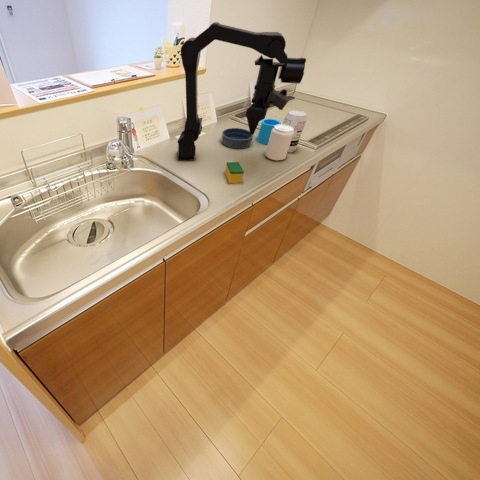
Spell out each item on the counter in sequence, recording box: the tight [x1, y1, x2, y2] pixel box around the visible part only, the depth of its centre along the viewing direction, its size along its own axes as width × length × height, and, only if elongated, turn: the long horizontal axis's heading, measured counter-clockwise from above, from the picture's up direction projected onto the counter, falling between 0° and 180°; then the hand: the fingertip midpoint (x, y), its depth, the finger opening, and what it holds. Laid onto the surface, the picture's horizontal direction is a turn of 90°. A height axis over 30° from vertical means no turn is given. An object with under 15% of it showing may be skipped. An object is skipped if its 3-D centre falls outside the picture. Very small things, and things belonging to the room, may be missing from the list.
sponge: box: [224, 161, 245, 184], centre depth 99 cm, size 7×4×4 cm, turn 2°
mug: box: [256, 118, 282, 145], centre depth 122 cm, size 12×8×8 cm
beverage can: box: [264, 123, 294, 161], centre depth 109 cm, size 8×8×12 cm
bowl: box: [220, 127, 254, 150], centre depth 121 cm, size 13×13×4 cm
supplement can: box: [282, 109, 308, 154], centre depth 113 cm, size 8×8×15 cm
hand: (254, 129), depth 99 cm, fingers open, 9 cm apart
